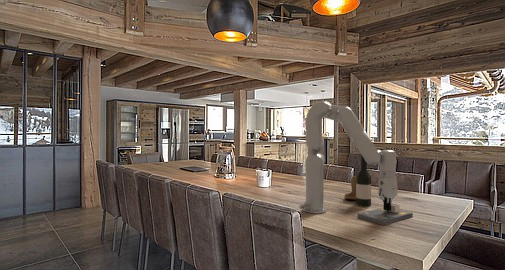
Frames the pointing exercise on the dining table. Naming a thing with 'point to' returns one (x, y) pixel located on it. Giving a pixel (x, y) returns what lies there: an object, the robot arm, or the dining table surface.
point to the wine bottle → (363, 185)
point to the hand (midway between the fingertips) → (387, 210)
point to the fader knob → (395, 208)
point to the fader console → (384, 216)
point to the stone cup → (353, 194)
